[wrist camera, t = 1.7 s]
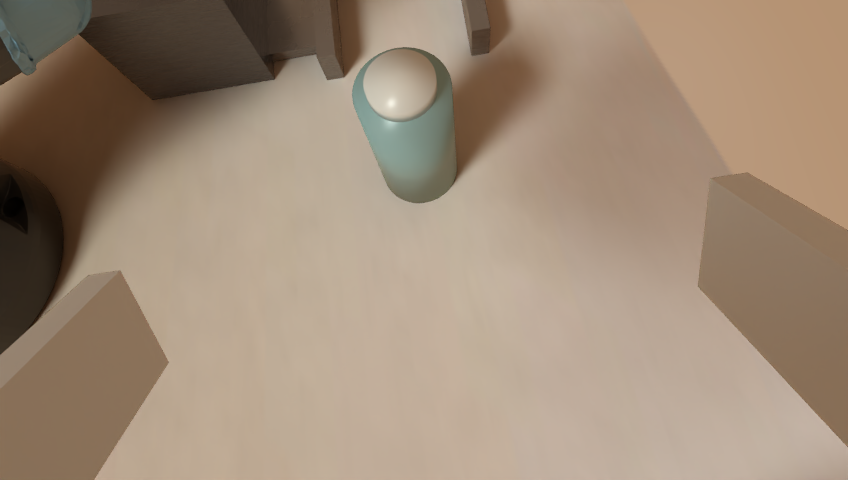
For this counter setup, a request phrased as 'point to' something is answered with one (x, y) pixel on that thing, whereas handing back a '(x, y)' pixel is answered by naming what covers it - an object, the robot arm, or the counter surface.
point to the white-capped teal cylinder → (409, 121)
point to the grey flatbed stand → (226, 39)
